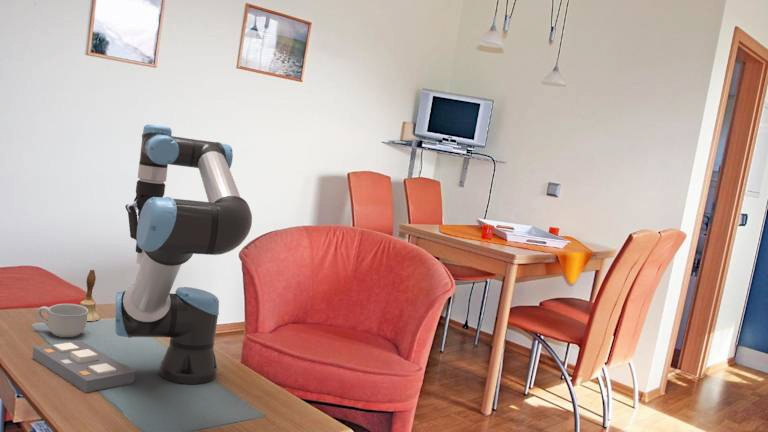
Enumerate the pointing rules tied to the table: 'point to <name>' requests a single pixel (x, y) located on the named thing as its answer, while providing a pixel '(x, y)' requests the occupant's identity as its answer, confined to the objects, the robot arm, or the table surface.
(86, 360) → the button middle
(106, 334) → the table surface
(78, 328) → the teacup
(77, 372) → the key board
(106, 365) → the button
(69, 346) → the button
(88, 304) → the hand bell
